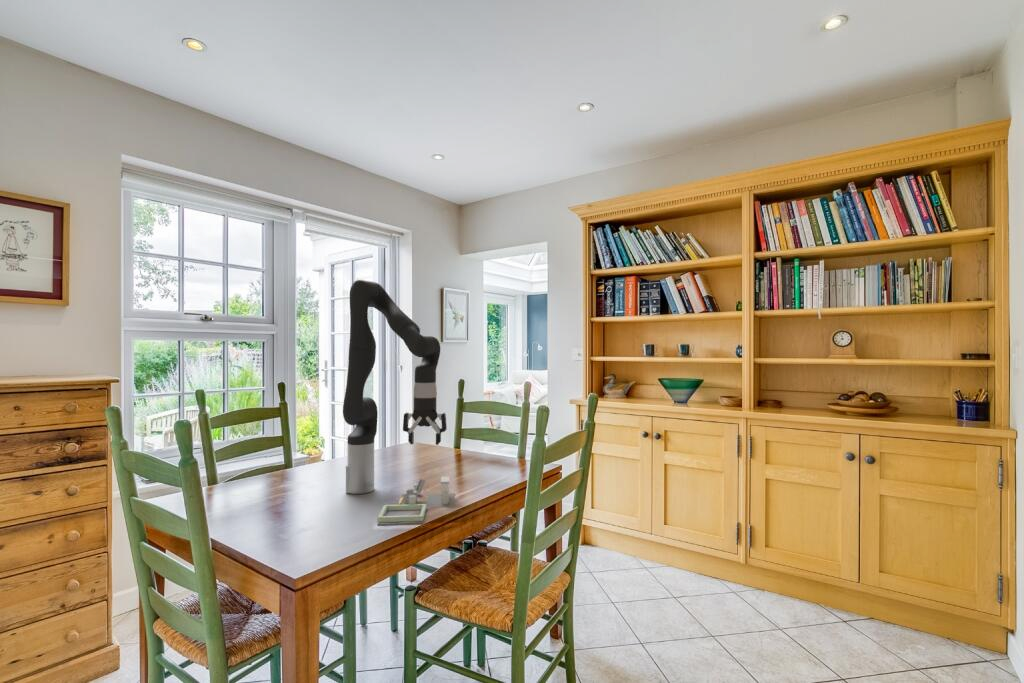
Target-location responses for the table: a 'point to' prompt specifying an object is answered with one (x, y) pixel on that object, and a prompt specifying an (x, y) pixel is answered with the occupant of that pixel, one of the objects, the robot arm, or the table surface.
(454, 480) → the table surface
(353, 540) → the table surface
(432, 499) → the fuse panel
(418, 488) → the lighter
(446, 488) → the block
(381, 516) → the tray
